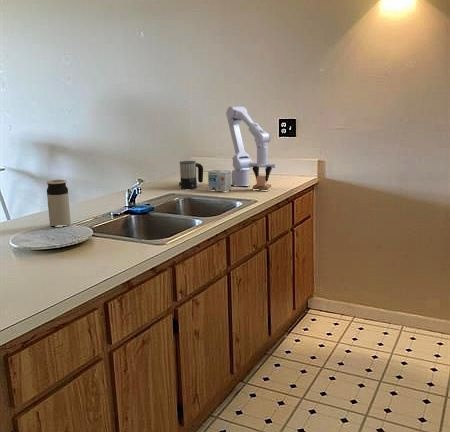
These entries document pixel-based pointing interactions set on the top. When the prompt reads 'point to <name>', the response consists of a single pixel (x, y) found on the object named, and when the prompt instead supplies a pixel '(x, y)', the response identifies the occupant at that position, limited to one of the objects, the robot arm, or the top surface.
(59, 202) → the travel mug
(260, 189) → the plinth
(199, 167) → the milk frother
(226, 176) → the light bulb box
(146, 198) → the top surface
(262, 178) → the block
